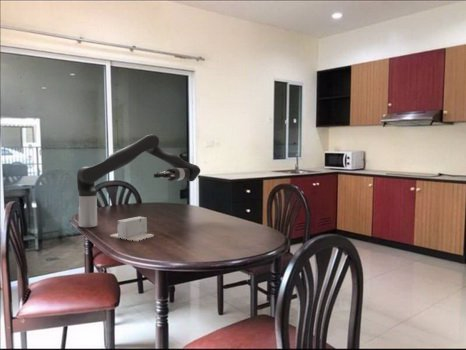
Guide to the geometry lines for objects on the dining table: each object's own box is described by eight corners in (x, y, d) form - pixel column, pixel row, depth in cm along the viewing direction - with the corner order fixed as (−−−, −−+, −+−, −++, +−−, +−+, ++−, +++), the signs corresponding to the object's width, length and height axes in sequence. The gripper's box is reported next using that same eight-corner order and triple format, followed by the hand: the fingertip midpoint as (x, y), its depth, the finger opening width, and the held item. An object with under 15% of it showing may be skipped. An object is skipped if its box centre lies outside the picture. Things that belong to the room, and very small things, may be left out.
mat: (110, 236, 188) (110, 235, 188) (127, 231, 199) (127, 230, 199) (137, 241, 179) (137, 239, 179) (154, 236, 190) (154, 234, 190)
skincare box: (147, 232, 194) (125, 239, 182) (138, 231, 197) (117, 237, 185) (147, 216, 194) (125, 222, 181) (138, 215, 197) (116, 220, 184)
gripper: (166, 167, 225) (146, 168, 210) (184, 168, 218) (164, 169, 203) (166, 180, 225) (145, 181, 211) (184, 181, 218) (163, 183, 204)
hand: (154, 175), depth 207 cm, fingers closed
